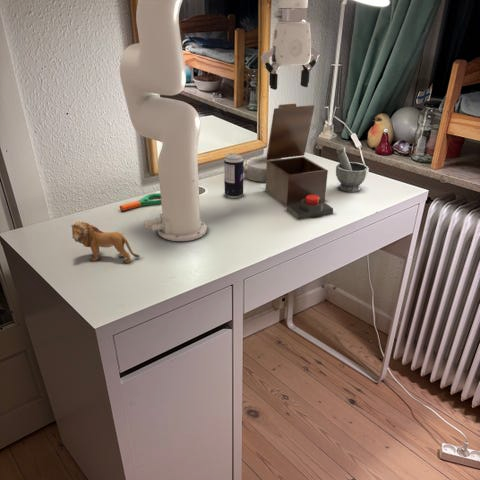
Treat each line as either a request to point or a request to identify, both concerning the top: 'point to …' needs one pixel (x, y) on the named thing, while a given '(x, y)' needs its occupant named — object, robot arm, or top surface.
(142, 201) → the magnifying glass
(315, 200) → the button
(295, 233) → the top surface
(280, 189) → the brown open box
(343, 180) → the mortar and pestle
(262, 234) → the top surface
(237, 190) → the beverage can
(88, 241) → the lion figurine
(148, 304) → the top surface
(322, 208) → the control block
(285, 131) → the wooden box lid
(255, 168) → the dish
